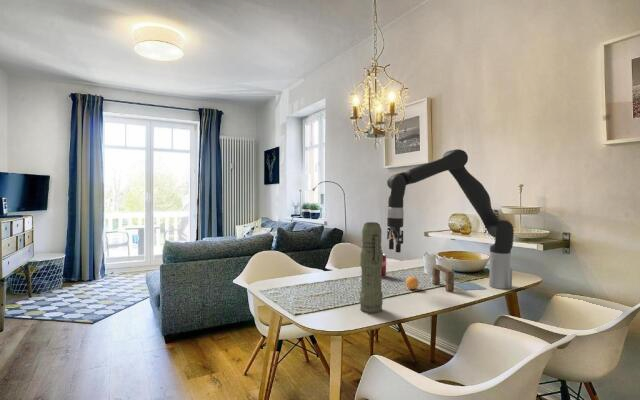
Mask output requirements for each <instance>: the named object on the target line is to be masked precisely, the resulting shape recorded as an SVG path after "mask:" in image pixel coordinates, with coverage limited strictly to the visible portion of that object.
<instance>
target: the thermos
mask: <svg viewBox="0 0 640 400" xmlns="http://www.w3.org/2000/svg"><path fill="white" fill-rule="evenodd" d="M361 242H362V245H361V250H360V261H359V262H360V263H359V264H360V265H359V266H360V268H361V281H360V283H361V287H360V288H361V290H360V292H359V304H360V311H361V313H365V314H373V315H374V314H380V313H381V312H383V302H384V300H383V291H382V278H381V269H382V267H383V254H384V252H383V250H382V228H381V225H380V223H379V222H375V221H374V222H373V221H369V222H368V221H367V222H365V223H363V226H362V230H361Z"/></svg>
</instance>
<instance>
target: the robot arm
mask: <svg viewBox="0 0 640 400" xmlns="http://www.w3.org/2000/svg"><path fill="white" fill-rule="evenodd" d="M468 160H469V157H468V154H467V152H466V151H465V150H463V149H460V148H458V149H451V150H448V151H446V152H444V153H443V155H442V157H441V158H440V159H436V160H434V161H429V162H427V163H423V164H420V165H417V166H414V167H412V168H409V169H407V170H406V171H402V172H400V173H399V172H398V173H396V174H394V175H393V174H392V175H391V176H389V178H388V179H387V181H386V185H387V187H388V188H389V189H390V195H389V196H388V202H387V204H388V205H387V214H386V215H387V217H386V219H387V222H386V223H387V224H386V227H387V231H386V234H387V235H386V240H388V250H394V249H395V253H401V248H402V246H401V245H402V244H404V230H401V228H403V227H404V215H405V214H404V213H405V212H404V197H405V194H406V193H405V192H406V187H407V186H408V185H412V184H416V183H419V182H421V181H424V180H426V179H428V178H430V177H433V176H435V175H438V174H440V173H443V172H446V171H447V172H449V174H451V176H452V177H453V178H454V180H455V181H456V182H457V184H458V186H459V187H460V189H461V190H462V192H463V193H464V195H465V196H466V197H465V198H467V200H468V201H469V203H470V205H471V206H472V207H473V209H474V210H475V212H476V213H477V215H478V216H479V217H480V219H481V221H482V223H483V226H484V228H485V229H486V232H488V235H489V236H491V237H493V238H495V239H494V243H493V244H492V245H490V246H489V277H488V279H489V280H488V281H489V282H488V286H489V287H491V288H495V289H500V290H501V289H503V290H505V289H510V288H511V287H513V268H512V267H511V260H512V259H511V256H512V255H511V253H512V252H511V251H512V248H513V247H514V246H513V245H514V234H515V233H514V230H515V229H514V226H513V224H512V223H511V222H510V221H508V220H505V219H504V220H503V219H499V217H498V215H497V214H495V212H494V210H493V209H492V204H491V203H492V202H491V197H490V194H489V193H488V191H487V189H486V188H485V187H484V186H485V185H483V183H481V182H480V180H478V178H476V177H475V176H473V174H471V173H470V172H469V171H468V170H467V168H466V166H465V165H467V163H468V162H469V161H468ZM511 289H512V288H511Z"/></svg>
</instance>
